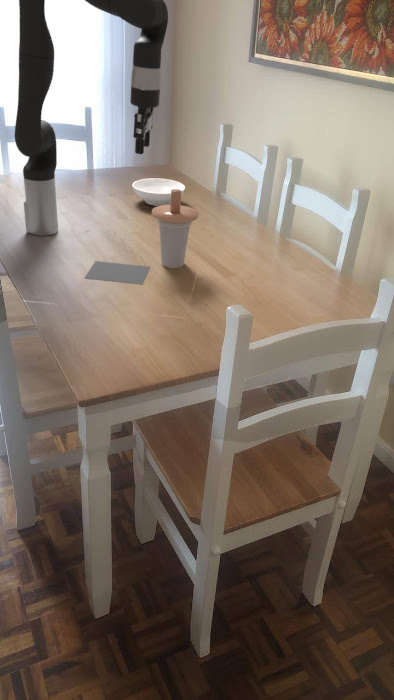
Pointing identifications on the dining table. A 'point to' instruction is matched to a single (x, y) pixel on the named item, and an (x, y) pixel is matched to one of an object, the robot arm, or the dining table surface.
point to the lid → (175, 210)
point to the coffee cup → (173, 243)
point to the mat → (118, 272)
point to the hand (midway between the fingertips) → (142, 149)
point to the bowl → (156, 190)
